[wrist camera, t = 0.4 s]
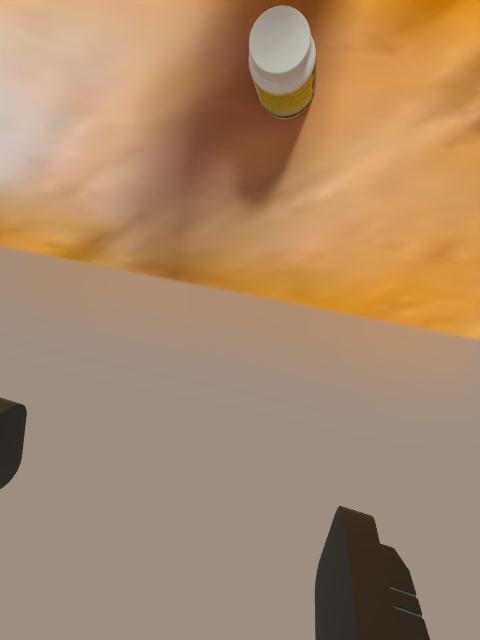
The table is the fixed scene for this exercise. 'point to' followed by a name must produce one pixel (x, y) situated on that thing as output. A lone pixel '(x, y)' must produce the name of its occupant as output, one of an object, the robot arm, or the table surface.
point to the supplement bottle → (283, 61)
